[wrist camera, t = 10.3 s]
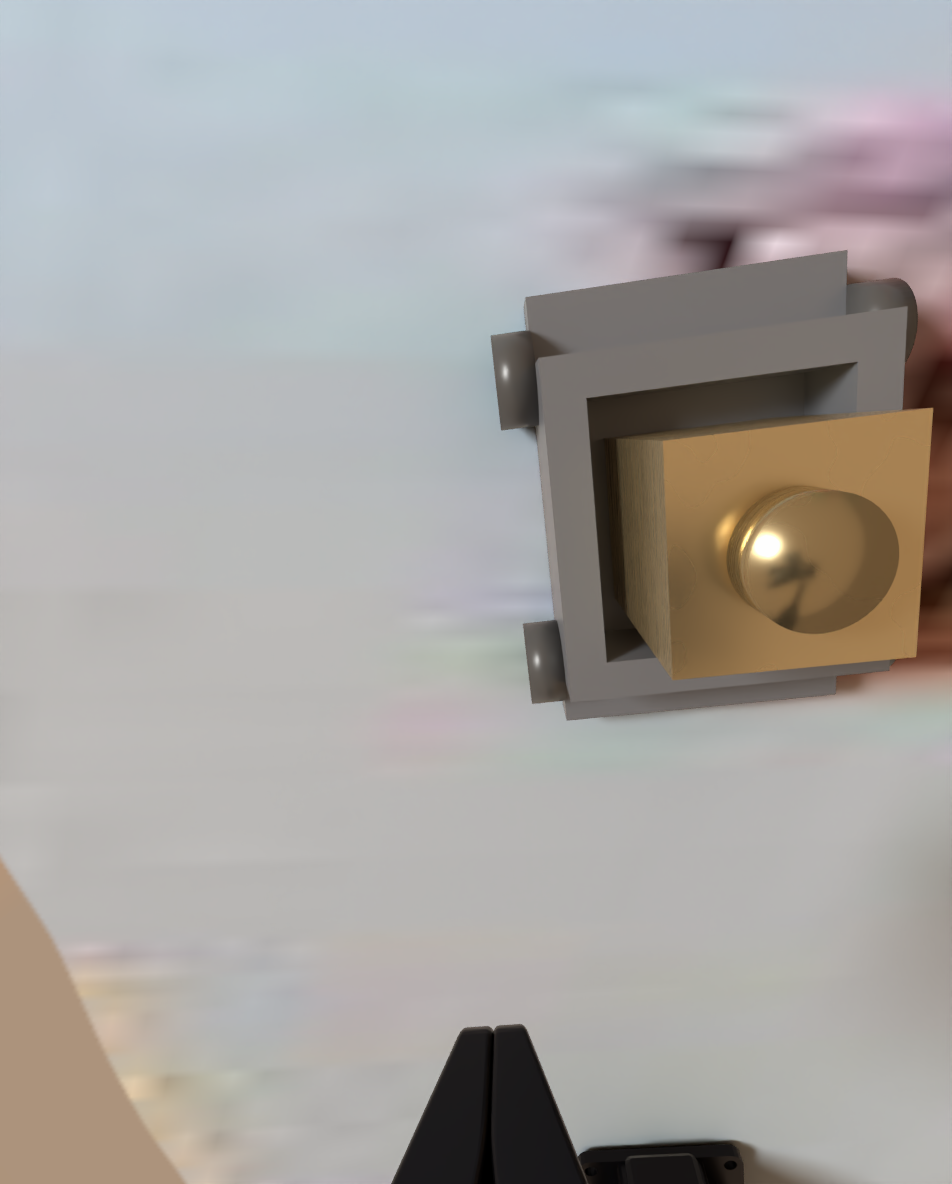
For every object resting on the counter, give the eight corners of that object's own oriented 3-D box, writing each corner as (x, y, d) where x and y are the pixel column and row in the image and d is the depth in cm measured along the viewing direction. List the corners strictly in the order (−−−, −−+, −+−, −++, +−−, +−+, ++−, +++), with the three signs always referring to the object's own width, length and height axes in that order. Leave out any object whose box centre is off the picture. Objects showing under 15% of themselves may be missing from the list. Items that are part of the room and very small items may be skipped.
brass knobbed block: (774, 581, 17) (955, 678, 10) (614, 597, 17) (688, 703, 11) (774, 417, 16) (978, 404, 9) (604, 438, 16) (679, 441, 9)
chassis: (847, 675, 19) (926, 729, 15) (532, 706, 20) (539, 765, 16) (860, 257, 16) (962, 208, 12) (487, 312, 17) (484, 280, 13)
